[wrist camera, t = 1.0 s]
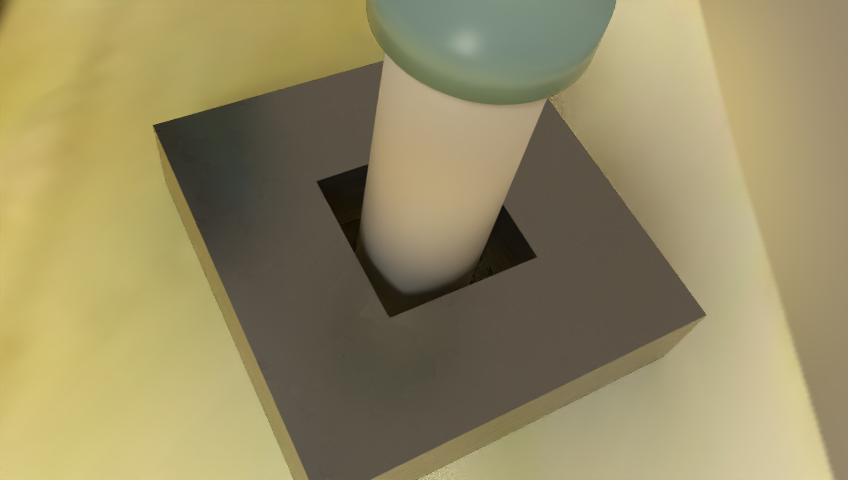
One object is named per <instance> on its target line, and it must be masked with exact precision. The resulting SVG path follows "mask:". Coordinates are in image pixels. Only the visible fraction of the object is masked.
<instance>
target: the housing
mask: <svg viewBox="0 0 848 480" xmlns="http://www.w3.org/2000/svg"><path fill="white" fill-rule="evenodd" d="M383 62H384V61H381V62H378V63H374V64H370V65H367V66H363V67H360V68H356V69H353V70H349V71H345V72H342V73H338V74H335V75H331V76H328V77H324V78H320V79H317V80H313V81H310V82H306V83H303V84H299V85H295V86H292V87H288V88H285V89H281V90H277V91H274V92H270V93H267V94H263V95H260V96H256V97H252V98H249V99H245V100H242V101H238V102H235V103H231V104H227V105H224V106H220V107H217V108H213V109H210V110H206V111H202V112H199V113H195V114H192V115H188V116H185V117H181V118H177V119H174V120H170V121H167V122H163V123H159V124H156V125H153V128H154V133H155V137H156V141H157V146H158V150H159V154H160V159H161V163H162V167H163V172H164V176H165V180H166V184H167V187H168V189H169V191H170V194H171V196H172V198H173V201H174V203H175V205H176V208H177V210H178V212H179V214H180V217H181V219H182V221H183V224H184V226H185V228H186V231H187V233H188V235H189V238H190V240H191V242H192V245H193V247H194V249H195V252H196V254H197V256H198V259H199V261H200V263H201V265H202V268H203V270H204V272H205V275H206V277H207V279H208V282H209V284H210V286H211V289H212V291H213V293H214V296H215V298H216V300H217V303H218V305H219V307H220V309H221V312H222V314H223V316H224V319H225V321H226V323H227V326H228V328H229V330H230V333H231V335H232V337H233V340H234V342H235V344H236V347H237V349H238V351H239V353H240V356H241V358H242V360H243V363H244V365H245V367H246V370H247V372H248V374H249V377H250V379H251V381H252V384H253V386H254V388H255V391H256V393H257V395H258V397H259V400H260V402H261V404H262V407H263V409H264V411H265V414H266V416H267V418H268V421H269V423H270V425H271V428H272V430H273V432H274V435H275V437H276V439H277V441H278V444H279V446H280V448H281V451H282V453H283V455H284V458H285V460H286V462H287V465H288V467H289V469H290V472H291V474H292V476H293V479H294V480H418V479H420V478H421V477H423V476H425V475H427V474H429V473H431V472H433V471H435V470H437V469H439V468H441V467H443V466H445V465H447V464H449V463H451V462H453V461H455V460H457V459H459V458H461V457H463V456H465V455H467V454H469V453H471V452H473V451H475V450H477V449H479V448H481V447H483V446H485V445H487V444H489V443H491V442H493V441H495V440H497V439H499V438H501V437H503V436H505V435H507V434H509V433H511V432H513V431H515V430H517V429H519V428H521V427H523V426H525V425H527V424H529V423H531V422H533V421H535V420H537V419H539V418H541V417H543V416H545V415H547V414H549V413H551V412H553V411H555V410H557V409H559V408H561V407H563V406H565V405H567V404H569V403H571V402H573V401H575V400H577V399H579V398H581V397H583V396H585V395H587V394H589V393H591V392H593V391H595V390H597V389H599V388H601V387H603V386H605V385H607V384H609V383H611V382H613V381H615V380H617V379H619V378H621V377H623V376H625V375H627V374H629V373H631V372H633V371H635V370H637V369H639V368H641V367H643V366H645V365H647V364H649V363H651V362H653V361H655V360H657V359H659V358H661V357H663V356H664V355H665V354H666V353H668V352H669V351H670V350H671V349H672V348H673V347H674V346H675V345H676V344H677V343H678V342H679V341H680V340H681V339H682V338H683V337H684V336H685V335H686V334H687V333H688V332H689V331H691V330H692V329H693V328H694V327H695V326H696V325H697V324H698V323H699V322H700V321H701V320H702V319H703V318H704V317H705V316H706V314H705V312H704V311H703V310H702V308H701V307H700V305H699V304H698V303H697V301H696V300H695V299H694V297H693V296H692V295H691V293H690V292H689V290H688V289H687V288H686V286H685V285H684V284H683V282H682V281H681V280H680V278H679V277H678V275H677V274H676V273H675V271H674V270H673V269H672V267H671V266H670V265H669V263H668V262H667V260H666V259H665V258H664V256H663V255H662V254H661V252H660V251H659V250H658V248H657V247H656V245H655V244H654V243H653V241H652V240H651V239H650V237H649V236H648V235H647V233H646V232H645V230H644V229H643V228H642V226H641V225H640V224H639V222H638V221H637V220H636V218H635V217H634V215H633V214H632V213H631V211H630V210H629V209H628V207H627V206H626V204H625V203H624V202H623V200H622V199H621V198H620V196H619V195H618V194H617V192H616V191H615V189H614V188H613V187H612V185H611V184H610V183H609V181H608V180H607V179H606V177H605V176H604V174H603V173H602V172H601V170H600V169H599V168H598V166H597V165H596V164H595V162H594V161H593V159H592V158H591V157H590V155H589V154H588V153H587V151H586V150H585V149H584V147H583V146H582V144H581V143H580V142H579V140H578V139H577V138H576V136H575V135H574V134H573V132H572V131H571V129H570V128H569V127H568V125H567V124H566V123H565V121H564V120H563V119H562V117H561V116H560V114H559V113H558V112H557V110H556V109H555V108H554V106H553V105H552V104H551V102H550V101H549V99H548V98H547V100H546V102H545V105H544V107H543V109H542V112H541V114H540V116H539V119H538V121H537V124H536V126H535V128H534V131H533V133H532V136H531V138H530V140H529V143H528V145H527V147H526V150H525V152H524V155H523V157H522V159H521V162H520V164H519V167H518V169H517V171H516V174H515V176H514V178H513V181H512V183H511V186H510V188H509V190H508V193H507V195H506V197H505V200H504V202H503V205H502V207H501V209H500V212H499V214H498V217H497V219H496V221H495V224H494V226H493V228H492V231H491V233H490V236H489V238H488V240H487V243H486V245H485V248H484V250H483V252H482V255H483V257H484V259H485V260H486V262H487V263H488V265H489V267H490V268H491V270H492V272H493V273H494V275H493V276H491V277H488V278H486V279H483V280H481V281H478V282H476V283H474V284H471V285H469V286H466V287H464V288H461V289H459V290H457V291H454V292H452V293H449V294H447V295H444V296H442V297H440V298H437V299H435V300H432V301H430V302H427V303H425V304H423V305H420V306H418V307H415V308H413V309H410V310H408V311H406V312H403V313H401V314H398V315H396V316H393V317H391V318H389V317H388V315H387V313H386V311H385V310H384V308H383V306H382V304H381V302H380V300H379V298H378V296H377V295H376V293H375V291H374V289H373V287H372V285H371V283H370V281H369V280H368V278H367V276H366V274H365V272H364V270H363V268H362V266H361V265H360V263H359V261H358V259H357V257H356V255H355V253H354V251H353V250H352V248H351V246H350V244H349V242H348V240H347V238H346V237H345V235H344V233H343V231H342V229H341V227H340V225H343V224H345V223H348V222H351V221H354V220H357V219H359V218H361V213H362V206H363V199H364V192H365V186H366V179H367V172H368V165H369V158H370V151H371V144H372V137H373V131H374V124H375V117H376V110H377V103H378V96H379V89H380V82H381V76H382V69H383Z"/></svg>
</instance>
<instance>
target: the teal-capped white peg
mask: <svg viewBox="0 0 848 480" xmlns="http://www.w3.org/2000/svg"><path fill="white" fill-rule="evenodd" d="M615 4H616V0H366V11H367V17H368V22H369V24H370V27H371V30H372V33H373V34H374V36H375V38H376V40H377V42H378V44H379V45H380V46H381V48H382V49H383V50H384V52H385V55H384V62H383V69H382V76H381V82H380V89H379V96H378V103H377V110H376V117H375V124H374V131H373V137H372V144H371V151H370V158H369V165H368V172H367V179H366V186H365V192H364V199H363V206H362V213H361V220H360V227H359V234H358V241H357V247H356V254H355V255H356V257H357V259H358V261H359V263H360V265H361V266H362V268H363V270H364V272H365V274H366V276H367V278H368V280H369V281H370V283H371V285H372V287H373V289H374V291H375V293H376V295H377V296H378V298H379V300H380V302H381V304H382V306H383V308H384V310H385V311H386V313H387V315H388V316H389V317H393V316H396V315H398V314H401V313H403V312H406V311H408V310H410V309H413V308H415V307H418V306H420V305H423V304H425V303H427V302H430V301H432V300H435V299H437V298H440V297H442V296H444V295H447V294H449V293H452V292H454V291H457V290H459V289H461V288H464V287H466V286H469V283H470V281H471V279H472V276H473V274H474V271H475V269H476V267H477V264H478V262H479V259H480V257H481V255H482V252H483V250H484V248H485V245H486V243H487V240H488V238H489V236H490V233H491V231H492V228H493V226H494V224H495V221H496V219H497V217H498V214H499V212H500V209H501V207H502V205H503V202H504V200H505V197H506V195H507V193H508V190H509V188H510V186H511V183H512V181H513V178H514V176H515V174H516V171H517V169H518V167H519V164H520V162H521V159H522V157H523V155H524V152H525V150H526V147H527V145H528V143H529V140H530V138H531V136H532V133H533V131H534V128H535V126H536V124H537V121H538V119H539V116H540V114H541V112H542V109H543V107H544V105H545V102H546V100H547V97H550V96H552V95H555V94H557V93H559V92H561V91H563V90H564V89H566V88H568V87H569V86H570V85H572V84H573V83H574V82H575V81H577V80H578V79H579V77H580V76H581V75H582V74H583V73H584V72H585V70H586V69H587V67H588V65H589V64H590V62H591V60H592V58H593V56H594V53H595V51H596V49H597V47H598V45H599V43H600V40H601V38H602V36H603V34H604V32H605V30H606V28H607V25H608V23H609V21H610V19H611V17H612V14H613V11H614V8H615Z"/></svg>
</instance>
